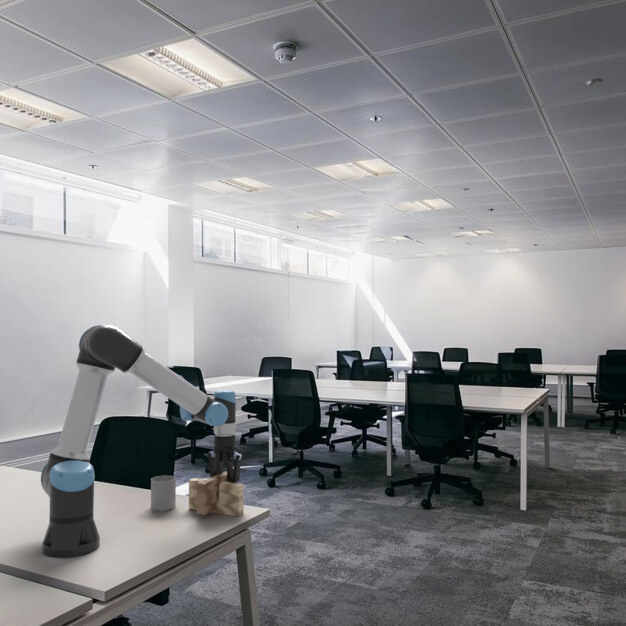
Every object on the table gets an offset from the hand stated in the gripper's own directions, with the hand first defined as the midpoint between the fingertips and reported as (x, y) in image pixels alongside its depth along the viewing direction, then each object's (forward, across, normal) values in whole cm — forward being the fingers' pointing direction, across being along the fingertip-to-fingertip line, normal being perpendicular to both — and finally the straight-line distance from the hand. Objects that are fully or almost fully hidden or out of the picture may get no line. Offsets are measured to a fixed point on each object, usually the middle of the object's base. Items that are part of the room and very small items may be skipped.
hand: (224, 501), depth 207 cm
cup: (+2, +20, +9) cm, 22 cm away
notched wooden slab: (+2, 0, +6) cm, 6 cm away
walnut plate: (0, 0, +6) cm, 6 cm away
